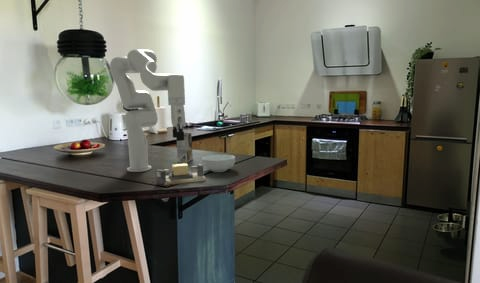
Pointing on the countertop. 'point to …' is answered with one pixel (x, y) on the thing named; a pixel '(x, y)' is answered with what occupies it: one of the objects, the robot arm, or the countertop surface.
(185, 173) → the coupler
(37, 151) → the countertop surface
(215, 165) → the cereal bowl
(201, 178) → the shaft bench
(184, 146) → the coffee box
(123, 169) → the countertop surface
